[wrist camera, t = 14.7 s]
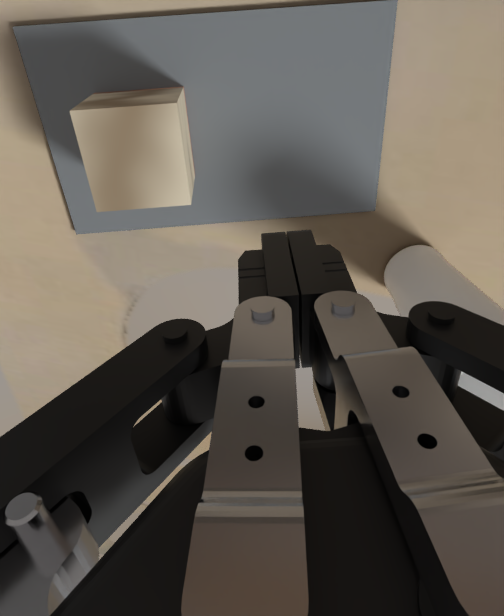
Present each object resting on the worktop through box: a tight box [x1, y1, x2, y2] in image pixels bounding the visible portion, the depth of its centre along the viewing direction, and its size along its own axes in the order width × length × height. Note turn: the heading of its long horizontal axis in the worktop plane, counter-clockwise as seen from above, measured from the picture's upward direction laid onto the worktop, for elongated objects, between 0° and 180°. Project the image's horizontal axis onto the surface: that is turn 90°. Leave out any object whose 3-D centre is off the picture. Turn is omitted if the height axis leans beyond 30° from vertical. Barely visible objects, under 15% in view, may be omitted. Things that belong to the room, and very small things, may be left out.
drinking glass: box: [384, 245, 504, 411], centre depth 33 cm, size 7×7×15 cm
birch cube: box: [70, 86, 195, 212], centre depth 29 cm, size 6×6×6 cm
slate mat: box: [13, 0, 398, 234], centre depth 32 cm, size 24×14×1 cm, turn 93°
